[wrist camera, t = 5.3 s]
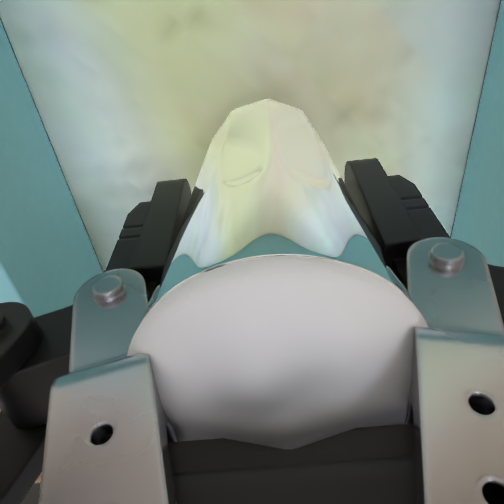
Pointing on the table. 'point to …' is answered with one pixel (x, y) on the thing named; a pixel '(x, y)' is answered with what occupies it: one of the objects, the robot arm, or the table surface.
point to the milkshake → (276, 297)
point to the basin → (74, 233)
